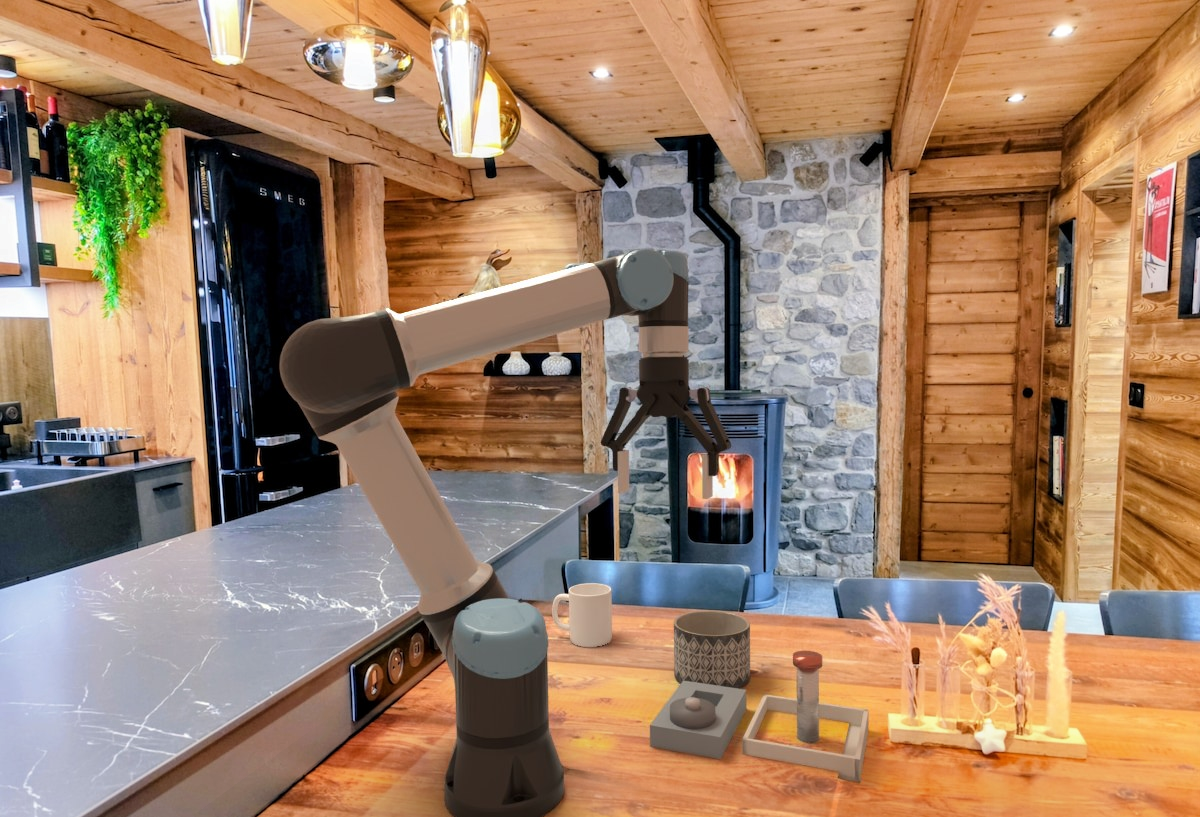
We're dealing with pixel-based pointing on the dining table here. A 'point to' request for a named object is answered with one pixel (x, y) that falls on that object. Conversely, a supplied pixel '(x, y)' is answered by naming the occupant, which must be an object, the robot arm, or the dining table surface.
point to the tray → (844, 763)
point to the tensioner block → (699, 719)
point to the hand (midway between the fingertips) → (664, 495)
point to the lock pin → (807, 695)
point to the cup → (587, 614)
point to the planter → (712, 648)
